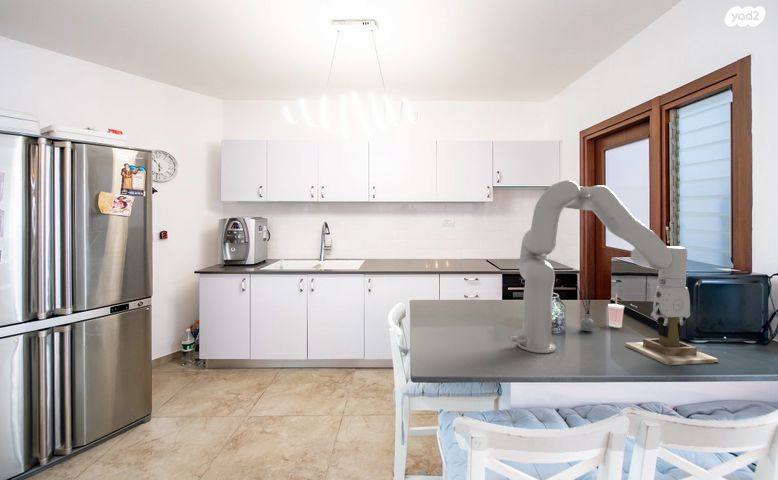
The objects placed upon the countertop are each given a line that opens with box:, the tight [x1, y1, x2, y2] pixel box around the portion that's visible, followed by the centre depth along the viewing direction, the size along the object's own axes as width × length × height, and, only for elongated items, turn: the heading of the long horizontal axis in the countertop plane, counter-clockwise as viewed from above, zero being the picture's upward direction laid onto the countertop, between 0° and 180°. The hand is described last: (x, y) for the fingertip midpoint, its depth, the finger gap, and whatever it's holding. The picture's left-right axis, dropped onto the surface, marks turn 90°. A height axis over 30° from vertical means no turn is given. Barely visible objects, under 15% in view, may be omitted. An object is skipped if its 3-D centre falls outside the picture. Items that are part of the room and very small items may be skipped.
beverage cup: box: [607, 293, 625, 329], centre depth 162 cm, size 6×6×14 cm
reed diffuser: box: [576, 281, 595, 332], centre depth 154 cm, size 10×7×20 cm
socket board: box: [624, 337, 719, 366], centre depth 129 cm, size 18×18×4 cm
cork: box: [658, 317, 681, 347], centre depth 128 cm, size 6×6×11 cm
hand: (669, 335), depth 128 cm, fingers closed on cork, 4 cm apart
